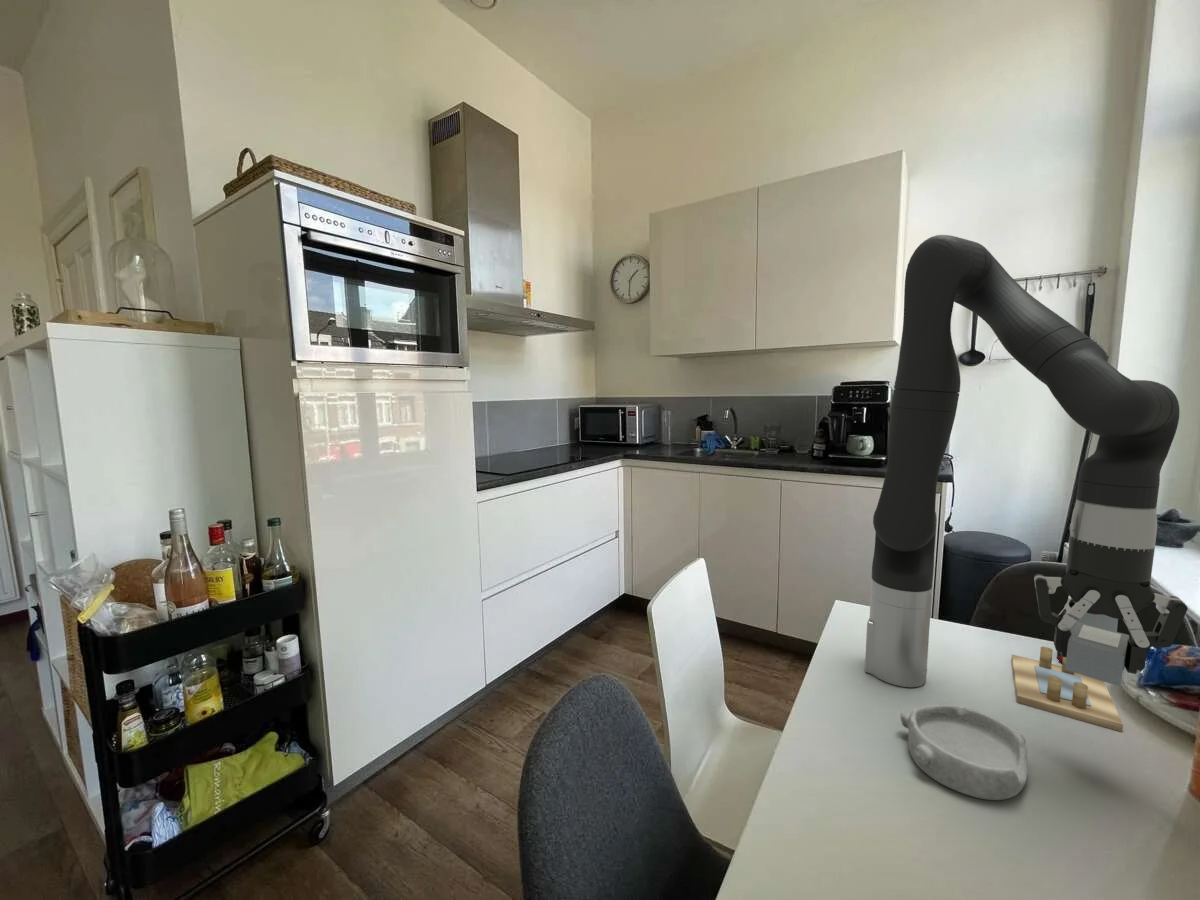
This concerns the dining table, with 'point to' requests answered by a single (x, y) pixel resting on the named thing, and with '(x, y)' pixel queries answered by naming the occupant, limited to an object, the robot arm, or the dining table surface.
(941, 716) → the dish
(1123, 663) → the block
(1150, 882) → the dining table surface
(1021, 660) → the wooden peg board
